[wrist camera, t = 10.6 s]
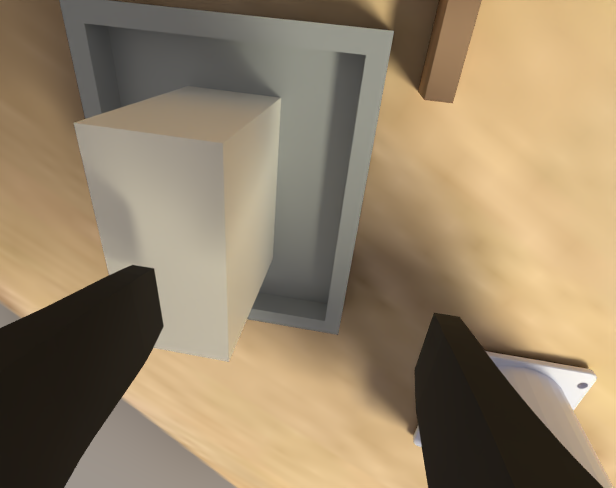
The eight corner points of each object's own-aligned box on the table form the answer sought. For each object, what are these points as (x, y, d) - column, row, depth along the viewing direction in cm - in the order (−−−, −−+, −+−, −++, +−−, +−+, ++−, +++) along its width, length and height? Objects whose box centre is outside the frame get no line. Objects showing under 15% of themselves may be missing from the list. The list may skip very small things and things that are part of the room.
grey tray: (340, 310, 21) (337, 334, 19) (143, 276, 22) (124, 297, 20) (391, 30, 14) (394, 31, 12) (93, -2, 15) (58, -5, 13)
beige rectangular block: (272, 270, 20) (229, 376, 14) (200, 259, 20) (128, 357, 14) (281, 97, 15) (222, 143, 9) (188, 86, 15) (73, 122, 10)
